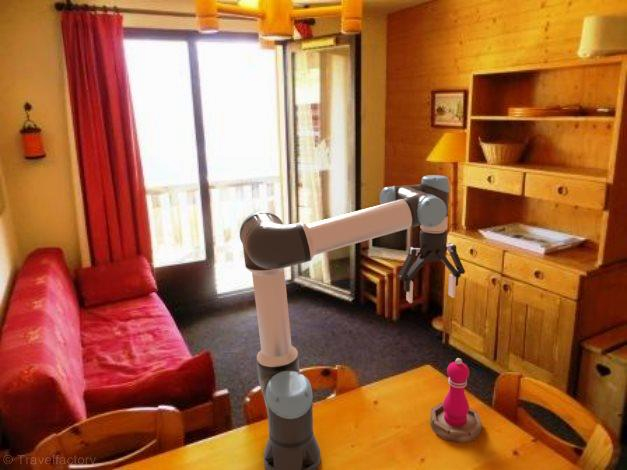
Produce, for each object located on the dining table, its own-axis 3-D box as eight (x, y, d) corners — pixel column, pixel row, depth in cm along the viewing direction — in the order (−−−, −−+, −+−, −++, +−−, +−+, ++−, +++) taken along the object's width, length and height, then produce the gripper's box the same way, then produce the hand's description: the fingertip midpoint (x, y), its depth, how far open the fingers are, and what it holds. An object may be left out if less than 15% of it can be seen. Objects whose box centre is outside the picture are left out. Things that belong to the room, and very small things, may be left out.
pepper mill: (469, 429, 131) (474, 366, 126) (443, 426, 133) (446, 364, 127) (466, 413, 138) (470, 352, 133) (441, 410, 140) (444, 351, 134)
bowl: (433, 440, 130) (433, 431, 129) (428, 409, 143) (428, 400, 143) (485, 444, 128) (486, 434, 127) (475, 412, 142) (475, 403, 141)
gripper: (466, 223, 139) (462, 289, 145) (387, 230, 134) (386, 298, 140) (480, 229, 132) (475, 298, 138) (397, 237, 127) (396, 308, 133)
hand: (430, 298), depth 139 cm, fingers open, 13 cm apart
